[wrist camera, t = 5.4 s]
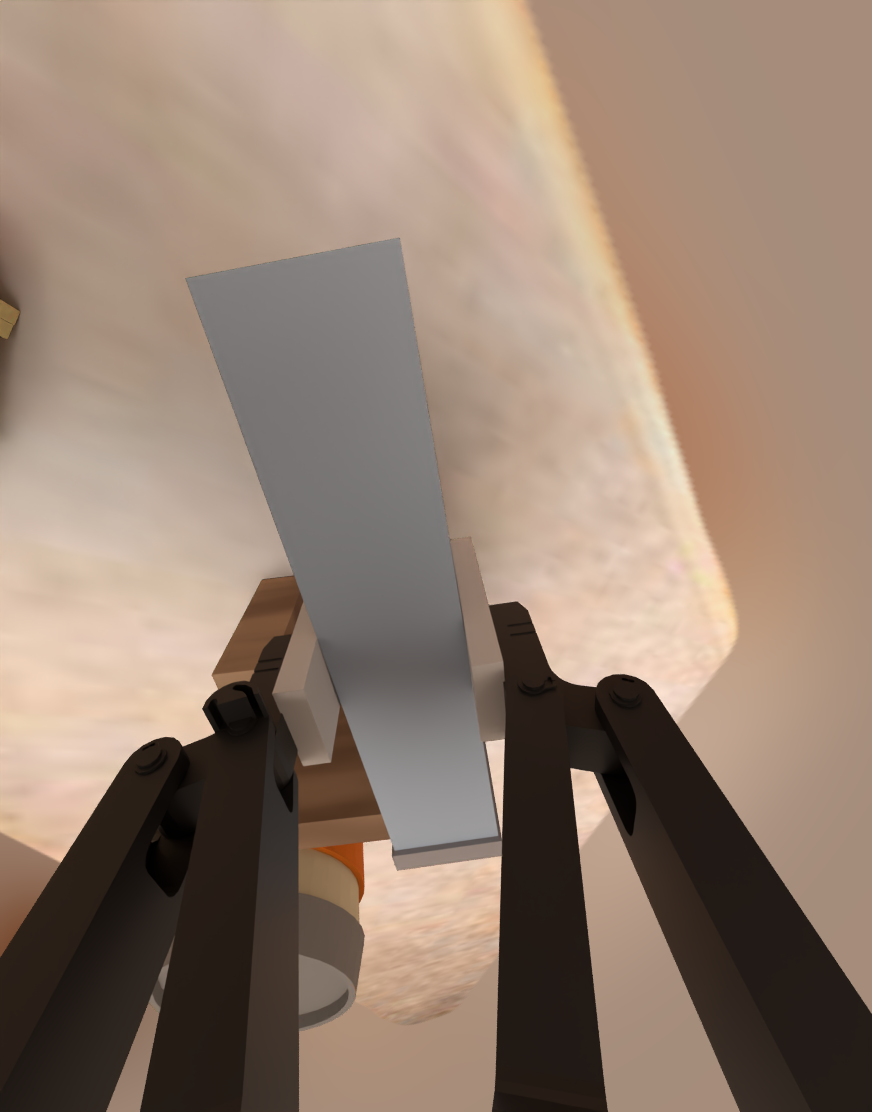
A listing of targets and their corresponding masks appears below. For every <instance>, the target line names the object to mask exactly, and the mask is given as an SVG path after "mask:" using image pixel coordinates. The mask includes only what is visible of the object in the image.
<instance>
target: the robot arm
mask: <svg viewBox="0 0 872 1112" xmlns="http://www.w3.org/2000/svg"><path fill="white" fill-rule="evenodd" d="M450 545H451V551H452V557H453V563H454V569H455V576H456V582H457V588H458V594H459V600H460V606H461V612H462V618H463V624H464V630H465V636H466V643H467V650H468V658H469V666H470V674H471V682H472V689H473V696H474V702H475V708H476V714H477V720H478V726H479V732H480V738H481V742H486V741H494V740H501V739H505V754H504V790H503V827H502V864H501V900H500V937H499V975H498V976H499V977H498V1010H497V1047H496V1048H497V1050H496V1079H495V1092H494V1100H493V1107H492V1112H608V1110H607V1102H606V1094H605V1086H604V1077H603V1068H602V1059H601V1049H600V1040H599V1030H598V1021H597V1012H596V1003H595V993H594V984H593V975H592V966H591V957H590V947H589V938H588V929H587V920H586V911H585V901H584V892H583V883H582V873H581V864H580V854H579V845H578V836H577V827H576V817H575V808H574V799H573V789H572V780H571V771H570V768H574V769H579V770H585V771H591V772H594V774H595V776H596V779H597V781H598V783H599V785H600V788H601V790H602V792H603V795H604V797H605V799H606V802H607V804H608V806H609V809H610V811H611V813H612V816H613V818H614V820H615V822H616V825H617V827H618V830H619V832H620V834H621V837H622V839H623V841H624V843H625V846H626V848H627V850H628V853H629V855H630V857H631V860H632V862H633V864H634V867H635V869H636V871H637V874H638V876H639V878H640V881H641V883H642V885H643V887H644V890H645V892H646V894H647V897H648V899H649V902H650V904H651V906H652V908H653V911H654V913H655V915H656V918H657V920H658V922H659V925H660V927H661V929H662V932H663V934H664V936H665V939H666V941H667V943H668V945H669V948H670V950H671V953H672V955H673V957H674V960H675V962H676V964H677V966H678V969H679V971H680V973H681V976H682V978H683V980H684V983H685V985H686V987H687V990H688V992H689V994H690V997H691V999H692V1001H693V1004H694V1006H695V1008H696V1011H697V1013H698V1015H699V1017H700V1020H701V1022H702V1024H703V1027H704V1029H705V1031H706V1034H707V1036H708V1038H709V1041H710V1043H711V1045H712V1048H713V1050H714V1052H715V1055H716V1057H717V1059H718V1062H719V1064H720V1066H721V1068H722V1071H723V1073H724V1075H725V1078H726V1080H727V1083H728V1085H729V1087H730V1089H731V1092H732V1094H733V1096H734V1099H735V1101H736V1103H737V1106H738V1108H739V1110H740V1112H872V1014H871V1012H870V1011H869V1009H868V1008H867V1006H866V1005H865V1003H864V1002H863V1000H862V999H861V997H860V996H859V994H858V993H857V991H856V990H855V988H854V987H853V985H852V984H851V982H850V981H849V979H848V978H847V977H846V975H845V973H844V972H843V971H842V969H841V968H840V966H839V965H838V963H837V962H836V960H835V959H834V957H833V956H832V954H831V953H830V951H829V950H828V949H827V947H826V945H825V944H824V942H823V941H822V939H821V938H820V936H819V935H818V933H817V932H816V931H815V929H814V927H813V926H812V925H811V923H810V922H809V920H808V919H807V917H806V916H805V915H804V913H803V911H802V910H801V908H800V907H799V905H798V904H797V902H796V901H795V899H794V898H793V896H792V895H791V893H790V892H789V890H788V889H787V887H786V886H785V884H784V883H783V881H782V880H781V879H780V877H779V876H778V874H777V873H776V871H775V870H774V868H773V867H772V865H771V864H770V862H769V861H768V859H767V858H766V856H765V855H764V853H763V852H762V850H761V849H760V848H759V846H758V844H757V843H756V842H755V840H754V838H753V837H752V835H751V834H750V833H749V831H748V830H747V828H746V827H745V825H744V824H743V822H742V821H741V819H740V818H739V816H738V815H737V813H736V812H735V810H734V809H733V808H732V806H731V804H730V803H729V801H728V800H727V798H726V797H725V795H724V794H723V792H722V791H721V789H720V788H719V787H718V785H717V784H716V782H715V781H714V780H713V778H712V776H711V775H710V773H709V772H708V770H707V769H706V767H705V766H704V764H703V763H702V761H701V760H700V758H699V757H698V755H697V754H696V752H695V751H694V749H693V748H692V746H691V745H690V744H689V742H688V741H687V739H686V738H685V736H684V735H683V733H682V732H681V730H680V729H679V727H678V726H677V724H676V723H675V721H674V720H673V718H672V717H671V715H670V714H669V712H668V711H667V709H666V708H665V706H664V705H663V703H662V702H661V700H660V699H659V697H658V696H657V695H656V693H655V692H654V690H653V689H652V688H651V687H650V686H649V685H648V684H647V683H646V682H644V681H642V680H640V679H639V678H637V677H633V676H629V675H625V674H616V675H611V676H608V677H605V678H603V679H602V680H601V681H600V682H599V683H598V685H597V687H589V686H580V685H575V684H571V683H568V682H566V681H564V680H562V679H560V678H559V677H558V676H557V675H556V674H555V673H554V672H553V671H552V670H551V669H550V667H549V665H548V662H547V659H546V657H545V654H544V652H543V649H542V646H541V644H540V641H539V638H538V636H537V633H536V631H535V628H534V625H533V624H532V620H531V617H530V615H529V612H528V610H527V609H526V608H524V607H523V606H522V605H521V604H520V603H519V602H510V603H503V604H496V605H488V601H487V598H486V594H485V590H484V586H483V582H482V578H481V575H480V571H479V567H478V563H477V559H476V555H475V552H474V548H473V544H472V540H471V537H464V538H457V539H450ZM340 704H341V702H340V700H339V697H338V694H337V691H336V689H335V686H334V683H333V680H332V678H331V675H330V672H329V670H328V667H327V664H326V661H325V659H324V656H323V653H322V650H321V648H320V645H319V642H318V639H317V637H316V634H315V631H314V628H313V626H312V623H311V620H310V618H309V615H308V612H307V609H306V607H305V604H304V601H303V604H302V607H301V610H300V613H299V616H298V619H297V622H296V625H295V628H294V631H293V634H289V635H282V636H275V637H273V638H272V639H271V640H270V641H269V643H268V644H267V645H266V646H265V647H264V648H263V650H262V652H261V655H260V657H259V660H258V663H257V664H256V667H255V669H254V673H253V674H252V677H251V679H250V682H249V681H238V682H233V683H230V684H228V685H225V686H223V687H222V688H220V689H219V690H217V691H216V692H214V693H213V694H212V695H211V696H210V697H209V698H208V699H207V700H206V702H205V704H204V706H203V708H202V709H203V711H204V713H205V715H206V717H207V719H208V720H209V722H210V724H211V726H212V728H213V730H214V731H215V734H213V735H211V736H208V737H206V738H204V739H201V740H199V741H196V742H194V743H191V744H188V745H186V746H183V747H182V745H181V743H180V742H179V741H178V740H176V739H175V738H171V737H163V738H159V739H156V740H153V741H151V742H149V743H147V744H145V745H143V746H142V747H140V748H139V749H138V750H137V751H135V752H134V753H133V754H132V755H131V756H130V757H129V759H128V760H127V761H126V762H125V763H124V765H123V766H122V768H121V770H120V771H119V773H118V774H117V776H116V777H115V779H114V781H113V782H112V784H111V785H110V787H109V788H108V790H107V792H106V793H105V795H104V796H103V798H102V799H101V801H100V802H99V804H98V806H97V807H96V809H95V810H94V812H93V813H92V815H91V817H90V818H89V820H88V821H87V823H86V824H85V826H84V828H83V829H82V831H81V832H80V834H79V835H78V837H77V838H76V840H75V842H74V843H73V845H72V846H71V848H70V849H69V851H68V853H67V854H66V856H65V857H64V859H63V860H62V862H61V863H60V865H59V867H58V868H57V870H56V871H55V873H54V874H53V876H52V878H51V879H50V881H49V882H48V884H47V885H46V887H45V889H44V890H43V892H42V893H41V895H40V896H39V898H38V899H37V901H36V903H35V904H34V906H33V907H32V909H31V911H30V912H29V914H28V915H27V917H26V918H25V920H24V921H23V923H22V925H21V926H20V928H19V929H18V931H17V932H16V934H15V936H14V937H13V939H12V940H11V942H10V943H9V945H8V946H7V948H6V950H5V951H4V953H3V954H2V956H1V957H0V1112H106V1110H107V1108H108V1105H109V1103H110V1100H111V1097H112V1095H113V1092H114V1090H115V1087H116V1084H117V1082H118V1080H119V1077H120V1074H121V1072H122V1069H123V1067H124V1064H125V1062H126V1059H127V1056H128V1054H129V1051H130V1049H131V1046H132V1044H133V1041H134V1038H135V1036H136V1033H137V1031H138V1028H139V1026H140V1023H141V1021H142V1018H143V1015H144V1013H145V1010H146V1008H147V1005H148V1003H149V1000H150V998H151V995H152V992H153V990H154V987H155V985H156V982H157V980H158V977H159V974H160V972H161V969H162V967H163V964H164V962H165V959H166V956H167V954H168V951H169V949H170V946H171V944H172V941H173V939H174V942H173V947H172V952H171V957H170V962H169V967H168V972H167V978H166V983H165V988H164V993H163V998H162V1003H161V1008H160V1013H159V1018H158V1023H157V1028H156V1034H155V1038H154V1043H153V1048H152V1054H151V1059H150V1064H149V1069H148V1074H147V1080H146V1084H145V1089H144V1094H143V1099H142V1105H141V1109H140V1112H299V814H298V778H297V774H296V772H295V770H294V766H295V761H296V757H297V753H298V756H299V758H300V760H301V763H302V765H303V766H308V765H316V764H323V763H331V759H332V753H333V746H334V740H335V734H336V728H337V722H338V716H339V710H340ZM174 936H175V937H174Z"/></svg>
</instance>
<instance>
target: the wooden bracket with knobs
mask: <svg viewBox="0 0 872 1112" xmlns="http://www.w3.org/2000/svg"><path fill="white" fill-rule="evenodd" d="M302 604H303V598H302V596H301V593H300V590H299V587H298V585H297V582H296V579H295V577H294V576H289V577H281V578H273V579H264V580H262V581H261V583H260V585H259V586H258V588H257V590H256V592H255V594H254V596H253V598H252V600H251V602H250V603H249V605H248V607H247V609H246V611H245V613H244V615H243V617H242V619H241V620H240V622H239V624H238V626H237V628H236V630H235V632H234V634H233V636H232V637H231V639H230V641H229V643H228V645H227V647H226V649H225V651H224V653H223V654H222V656H221V658H220V660H219V662H218V664H217V666H216V668H215V670H214V671H213V673H212V677H213V679H214V681H215V683H216V685H217V688H218V690H219V689H220V688H222V687H223V686H225V685H228V684H230V683H233V682H238V681H249V682H250V679H251V677H252V674H253V673H254V669H255V667H256V664H257V663H258V660H259V657H260V655H261V652H262V650H263V648H264V647H265V646H266V645H267V644H268V643H269V641H270V640H271V639H272V638H273V637H275V636H282V635H289V634H293V631H294V628H295V625H296V622H297V619H298V616H299V613H300V610H301V607H302ZM294 770H295V772H296V774H297V778H298V814H299V850H300V849H309V848H318V847H327V846H335V845H344V844H353V843H361V842H370V841H379V840H388V839H390V836H389V834H388V831H387V828H386V825H385V823H384V820H383V817H382V814H381V812H380V809H379V806H378V803H377V801H376V798H375V795H374V793H373V790H372V787H371V784H370V782H369V779H368V776H367V773H366V771H365V768H364V765H363V762H362V760H361V757H360V754H359V752H358V749H357V746H356V743H355V741H354V738H353V735H352V732H351V730H350V727H349V724H348V721H347V719H346V716H345V713H344V711H343V708H342V705H341V704H340V710H339V716H338V722H337V728H336V734H335V740H334V746H333V753H332V759H331V763H323V764H316V765H308V766H303V765H302V763H301V760H300V758H299V756H298V753H297V757H296V761H295V766H294Z"/></svg>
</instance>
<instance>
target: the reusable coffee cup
mask: <svg viewBox="0 0 872 1112" xmlns="http://www.w3.org/2000/svg"><path fill="white" fill-rule="evenodd" d="M363 894H364V861H363V842H361V843H353V844H344V845H335V846H327V847H318V848H309V849H300V850H299V1031H303V1030H307V1029H311V1028H314V1027H318V1026H321V1025H323V1024H325V1023H328V1022H330V1021H332V1020H334V1019H336V1018H338V1017H339V1016H341V1015H343V1014H344V1013H345V1012H346V1011H347V1010H348V1009H349V1008H350V1007H351V1006H352V1004H353V1002H354V1000H355V997H356V990H357V984H358V978H359V971H360V965H361V959H362V953H363V946H364V936H365V935H364V932H363V929H362V926H361V925H360V924H359V903H360V901H361V899H362V897H363ZM174 937H175V936H174ZM173 942H174V939H173V941H172V944H171V946H170V949H169V951H168V954H167V956H166V959H165V962H164V964H163V967H162V969H161V972H160V974H159V977H158V980H157V982H156V985H155V987H154V990H153V992H152V995H151V998H150V1000H149V1004H150V1005H151V1006H152V1007H153V1008H154V1009H155V1010H156V1011H157V1012H158V1013H160V1008H161V1003H162V998H163V993H164V988H165V983H166V978H167V972H168V967H169V962H170V957H171V952H172V947H173Z"/></svg>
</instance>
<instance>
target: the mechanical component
mask: <svg viewBox="0 0 872 1112" xmlns="http://www.w3.org/2000/svg"><path fill="white" fill-rule="evenodd" d="M19 313H20V311H18V310H17V309H15V308H13V307H12V306H10V305H8V304H7V303H5V302H4V301H2V300H0V337H3V338H5V339H7V340H8V337H9V335H10V332H11V330H12V327H13V325H15V323H16V321H17V318H18V316H19Z"/></svg>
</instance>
